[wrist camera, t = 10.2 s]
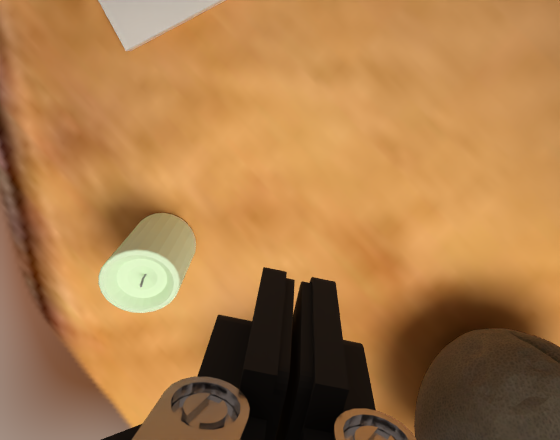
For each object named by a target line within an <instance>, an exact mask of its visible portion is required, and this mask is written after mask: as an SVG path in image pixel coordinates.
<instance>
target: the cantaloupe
mask: <svg viewBox="0 0 560 440" xmlns="http://www.w3.org/2000/svg"><path fill="white" fill-rule="evenodd" d="M414 427H415V438H416V440H560V347H559V346H557V345H555V344H553V343H551V342H549V341H547V340H545V339H542V338H539V337H537V336H534V335H529V334H526V333H523V332H520V331H515V330H511V329H503V328H493V329H479V330H473V331H470V332H467V333H465V334H463V335H461V336H459V337H458V338H456V339H455V340H453V341H452V342H450V343H449V344H448V345H447V346H445V347H444V348H443V349H442V350H441V351H440V353H439V354H438V355H437V356H436V357H435V359H434V360H433V362H432V363H431V365H430V366H429V368H428V370H427V372H426V374H425V376H424V378H423V380H422V383H421V386H420V390H419V393H418V397H417V403H416V411H415V425H414Z"/></svg>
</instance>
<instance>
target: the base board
mask: <svg viewBox="0 0 560 440" xmlns="http://www.w3.org/2000/svg"><path fill="white" fill-rule="evenodd" d="M98 1H99V3H100V5H101V6H102V8H103V10H104V12H105V14H106V15H107V17H108V19H109V21H110V23H111V25H112V26H113V28H114V30H115V32H116V34H117V36H118V37H119V39H120V41H121V43H122V45H123V47H124V48H125V50H126V51H132V50H134V49H136V48H137V47H139V46H141V45H143V44H145V43H147V42H149V41H151V40H152V39H154V38H156V37H158V36H160V35H162V34H164V33H166V32H167V31H169V30H171V29H173V28H175V27H177V26H179V25H181V24H182V23H184V22H186V21H188V20H190V19H192V18H194V17H196V16H197V15H199V14H201V13H203V12H205V11H207V10H209V9H211V8H212V7H214V6H216V5H218V4H220V3H222V2H224V1H226V0H98Z"/></svg>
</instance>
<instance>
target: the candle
mask: <svg viewBox="0 0 560 440" xmlns="http://www.w3.org/2000/svg"><path fill="white" fill-rule="evenodd" d="M195 250H196V240H195V236H194V233H193V231H192V229H191V228H190V226H189V225H188V224H187V223H186V222H185V221H184V220H182V219H181V218H179V217H177V216H175V215H173V214H168V213H155V214H152V215H150V216H147V217H146V218H144V219H143V220H141V221H140V223H139V224H138V225H137V226H136V227H135V228H134V230H133V231H132V232H131V233H130V234H129V236H128V237H127V238H126V239H125V240H124V241H123V243H122V244H121V245H120V246H119V247H118V249H117V250H116V251H115V252H114V253H113V254H112V256H111V257H110V258H109V259H108V260H107V262H106V263H105V264H104V265H103V267H102V268H101V271H100V274H99V287H100V290H101V292H102V294H103V295H104V297H105V298H106V299H107V300H108V301H109V302H110V303H112V304H113V305H114V306H116V307H118V308H120V309H122V310H125V311H129V312H136V313H146V312H152V311H156V310H158V309H161V308H163V307H165V306H166V305H168V304H169V303H170V302H171V301H172V300H173V299H174V298H175V297H176V295H177V293H178V290H179V288H180V286H181V284H182V281H183V279H184V277H185V274H186V272H187V270H188V268H189V265H190V263H191V261H192V258H193V256H194V254H195Z"/></svg>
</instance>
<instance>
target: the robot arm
mask: <svg viewBox="0 0 560 440" xmlns="http://www.w3.org/2000/svg"><path fill="white" fill-rule="evenodd" d="M286 273H287V272H285V271H280V270H275V269H270V268H265V267H264V268H263V272H262V277H261V282H260V287H259V292H258V296H257V301H256V306H255V311H254V316H253V320H252V321H247V320H242V319H238V318H233V317H228V316H223V315H218V317H217V320H216V323H215V326H214V329H213V332H212V335H211V338H210V341H209V344H208V347H207V350H206V353H205V356H204V359H203V362H202V365H201V368H200V371H199V374H198V377H190V378H186V379H182V380H180V381H178V382H176V383H174V384H172V385H171V386H170V387H169V388H168V389H167V390H166V391H165V392H164V393H163V395H162V396H161V398H160V399H159V401H158V402H157V403H156V405H155V406H154V408H153V409H152V411H151V412H150V414H149V415H148V417H147V418H146V420H145V421H144V422H143V424H141V425H138V426H135V427H133V428H130V429H128V430H125V431H123V432H120V433H117V434H115V435H112V436H110V437H107V438H104V439H102V440H416V438H415V436H414V435H413V433H412V432H411V431H410V430H409V429H408V428H407V427H406V426H405V425H403V424H402V423H401V422H399V421H398V420H396V419H395V418H393V417H391V416H389V415H387V414H384V413H382V412H379V411H376V409H375V404H374V399H373V394H372V389H371V384H370V378H369V373H368V368H367V363H366V358H365V352H364V348H363V345H362V344H361V343H356V342H351V341H346V340H343V337H342V329H341V321H340V313H339V305H338V298H337V290H336V283H335V282H333V281H329V280H324V279H319V278H314V277H312V278H311V280H310V283H307V282H301V285H300V288H299V293H298V297H297V301H296V305H295V310H294V314H293V301H294V280H293V279H288V278H286Z"/></svg>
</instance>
